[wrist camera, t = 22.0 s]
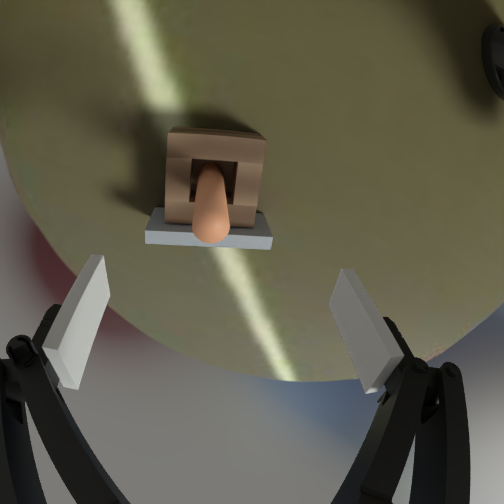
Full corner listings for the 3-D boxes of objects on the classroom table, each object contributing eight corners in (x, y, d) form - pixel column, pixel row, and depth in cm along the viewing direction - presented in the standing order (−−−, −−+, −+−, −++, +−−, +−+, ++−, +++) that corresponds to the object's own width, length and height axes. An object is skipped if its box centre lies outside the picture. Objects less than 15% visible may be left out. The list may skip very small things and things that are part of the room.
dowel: (199, 161, 33) (192, 208, 21) (224, 163, 33) (231, 210, 21) (198, 184, 34) (191, 242, 22) (221, 185, 35) (227, 244, 23)
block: (173, 126, 31) (167, 132, 27) (259, 133, 33) (266, 140, 29) (170, 205, 36) (164, 222, 32) (248, 210, 38) (253, 227, 34)
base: (154, 207, 36) (145, 230, 30) (263, 213, 38) (272, 237, 33) (154, 218, 37) (145, 243, 31) (261, 224, 39) (270, 249, 34)
